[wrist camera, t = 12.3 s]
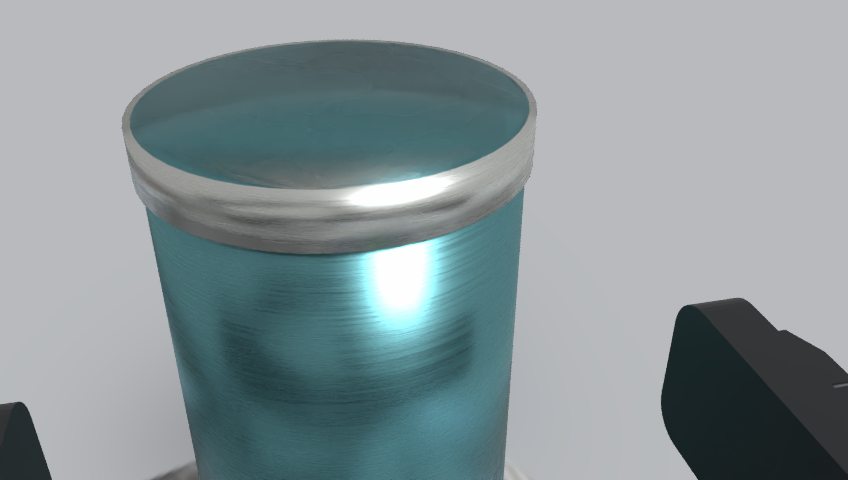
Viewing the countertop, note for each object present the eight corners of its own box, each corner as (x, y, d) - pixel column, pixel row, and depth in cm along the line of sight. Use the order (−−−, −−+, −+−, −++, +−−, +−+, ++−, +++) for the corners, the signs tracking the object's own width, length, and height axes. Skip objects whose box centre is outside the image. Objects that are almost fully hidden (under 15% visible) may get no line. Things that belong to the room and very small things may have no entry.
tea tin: (226, 763, 14) (98, 218, 9) (221, 507, 19) (137, 52, 14) (538, 690, 15) (604, 166, 10) (458, 466, 20) (472, 29, 15)
